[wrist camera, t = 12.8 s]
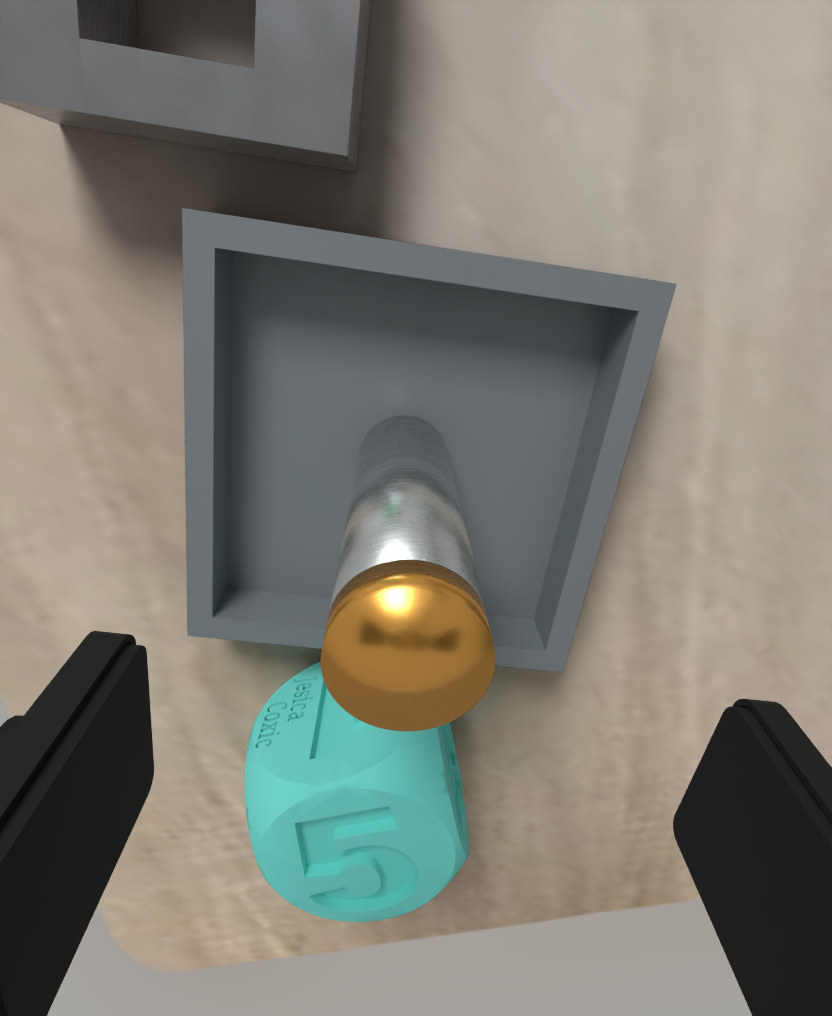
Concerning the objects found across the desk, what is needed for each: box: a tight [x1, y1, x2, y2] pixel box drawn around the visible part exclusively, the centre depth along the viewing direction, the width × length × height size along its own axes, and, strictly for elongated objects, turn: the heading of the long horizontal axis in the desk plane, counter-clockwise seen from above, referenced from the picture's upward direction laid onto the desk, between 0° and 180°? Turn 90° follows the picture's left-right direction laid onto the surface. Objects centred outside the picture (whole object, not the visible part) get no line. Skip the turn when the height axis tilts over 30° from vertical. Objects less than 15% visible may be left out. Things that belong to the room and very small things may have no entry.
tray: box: [182, 208, 676, 672], centre depth 24 cm, size 16×16×3 cm
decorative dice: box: [245, 662, 469, 922], centre depth 27 cm, size 8×8×8 cm
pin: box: [321, 415, 495, 732], centre depth 18 cm, size 4×4×13 cm
